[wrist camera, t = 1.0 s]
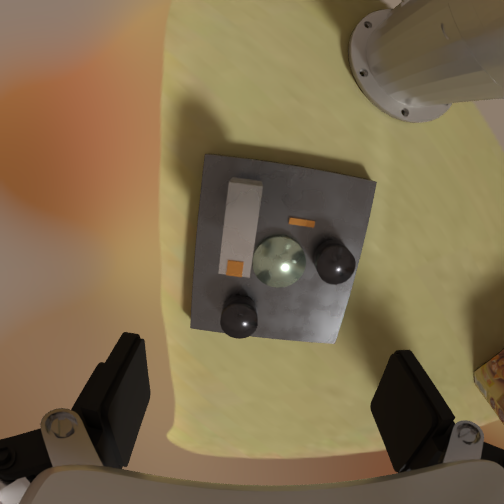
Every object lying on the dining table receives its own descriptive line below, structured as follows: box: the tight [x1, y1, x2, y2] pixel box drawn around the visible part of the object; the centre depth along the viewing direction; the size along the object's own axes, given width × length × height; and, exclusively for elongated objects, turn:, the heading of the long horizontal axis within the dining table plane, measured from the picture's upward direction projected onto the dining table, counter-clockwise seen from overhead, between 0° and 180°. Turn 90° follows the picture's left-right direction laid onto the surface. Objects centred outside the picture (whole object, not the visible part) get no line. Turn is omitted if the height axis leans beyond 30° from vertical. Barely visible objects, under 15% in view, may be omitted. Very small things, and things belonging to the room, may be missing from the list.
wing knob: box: [218, 177, 263, 278], centre depth 26 cm, size 7×2×6 cm, turn 172°
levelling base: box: [190, 154, 377, 344], centre depth 30 cm, size 18×16×4 cm
